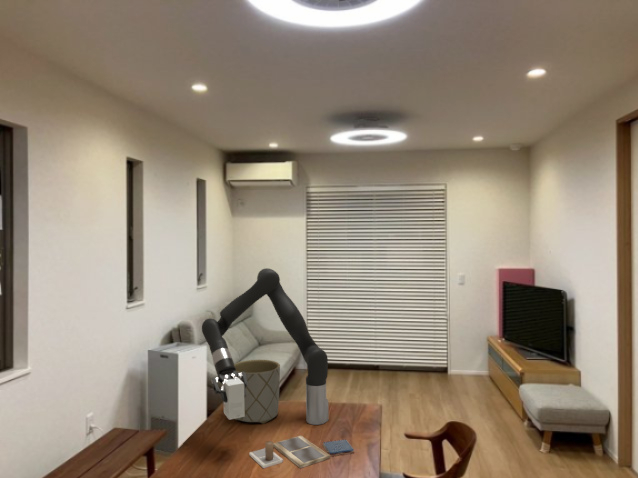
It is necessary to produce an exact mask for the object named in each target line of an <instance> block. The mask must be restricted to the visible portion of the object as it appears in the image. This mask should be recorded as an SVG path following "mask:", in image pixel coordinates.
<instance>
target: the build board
mask: <svg viewBox="0 0 638 478" xmlns="http://www.w3.org/2000/svg"><path fill="white" fill-rule="evenodd" d="M274 448H275V449H276V451H278V452H279V453H280V454H282V455H283V456H284V457H285V458H287V459H288V460H289V461H291V463H292V464H294V465H295V466H297V467H298V468H299V469H303V468H305V467H309V466H311V465H315V464H317V463H320V462H323V461H326V460H330V458H331V456H330V455H329V453H327V451H326V452H325V451H324V450H323V449H322V448H320V447H319V446H317V445H316V444H314V443H312V442H311V441H309V439H307V438H305V437H304V436H303V435H298V436H295V437H291V438H288V439H284V440H280V441H276V442H273V449H274Z"/></svg>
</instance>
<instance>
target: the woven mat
mask: <svg viewBox="0 0 638 478" xmlns="http://www.w3.org/2000/svg"><path fill="white" fill-rule="evenodd" d="M322 447H323V449H324V450H325V451H326V453H327V454H329V455H330V457H335V456H342V455H348V454H355V449H354V448H353V447H352V445H351V444H350V442H349V441H348V440H347V439H341V440H340V439H338V440H333V441H332V440H331V441H329V440H327V441H323V444H322Z"/></svg>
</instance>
